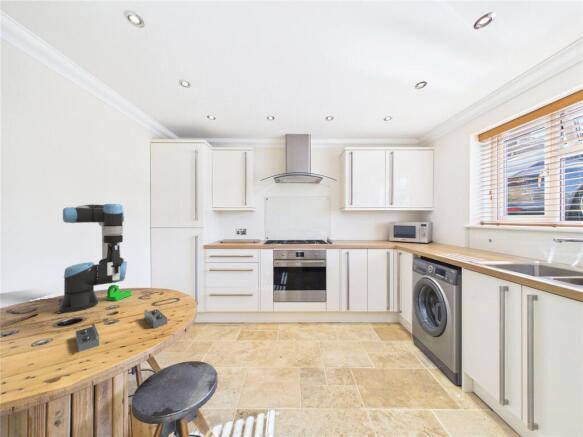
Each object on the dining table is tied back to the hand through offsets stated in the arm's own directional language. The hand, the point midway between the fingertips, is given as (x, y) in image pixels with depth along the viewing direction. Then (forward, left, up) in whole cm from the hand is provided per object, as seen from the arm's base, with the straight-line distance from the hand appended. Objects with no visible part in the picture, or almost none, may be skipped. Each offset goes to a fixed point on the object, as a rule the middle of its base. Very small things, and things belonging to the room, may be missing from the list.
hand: (113, 277), depth 111 cm
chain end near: (+25, -12, -18) cm, 33 cm away
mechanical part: (-28, +8, -19) cm, 34 cm away
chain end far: (+25, +12, -18) cm, 33 cm away
